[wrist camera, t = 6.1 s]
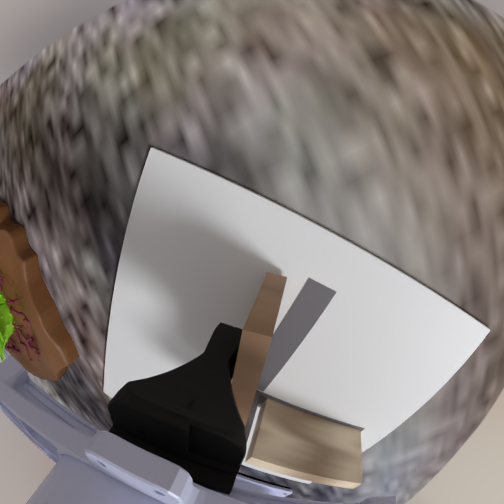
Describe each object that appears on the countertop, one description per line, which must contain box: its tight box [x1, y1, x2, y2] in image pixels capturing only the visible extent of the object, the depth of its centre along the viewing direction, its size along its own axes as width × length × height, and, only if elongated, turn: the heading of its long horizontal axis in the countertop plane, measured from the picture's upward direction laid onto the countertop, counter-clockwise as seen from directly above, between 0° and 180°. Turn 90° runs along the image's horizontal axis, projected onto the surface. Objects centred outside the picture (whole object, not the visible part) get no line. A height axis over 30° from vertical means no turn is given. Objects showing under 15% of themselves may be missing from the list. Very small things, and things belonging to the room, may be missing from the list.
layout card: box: [104, 147, 490, 484], centre depth 17 cm, size 23×23×1 cm
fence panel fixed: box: [245, 390, 362, 489], centre depth 14 cm, size 10×2×6 cm, turn 66°
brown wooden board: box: [232, 272, 287, 426], centre depth 13 cm, size 8×1×5 cm, turn 170°
